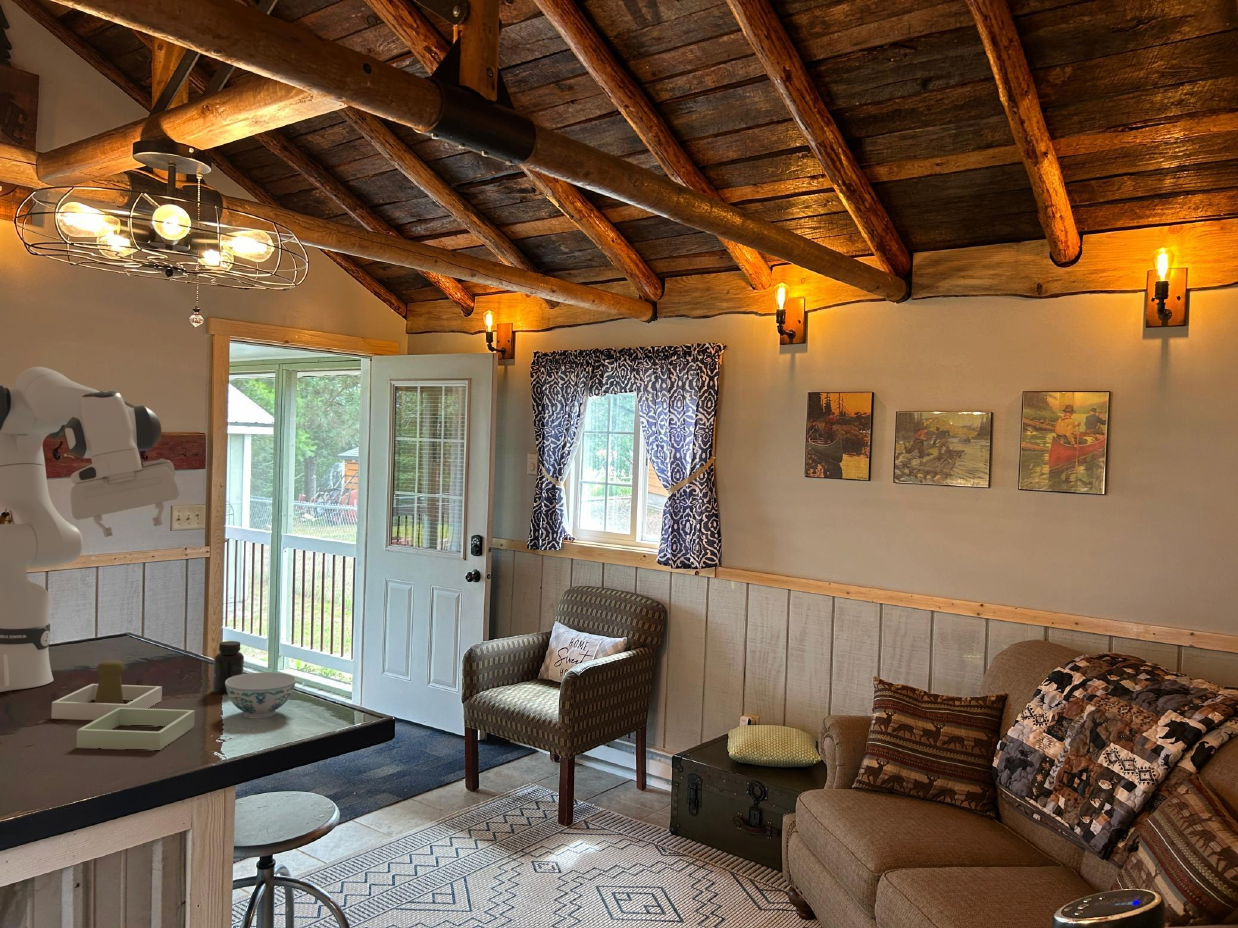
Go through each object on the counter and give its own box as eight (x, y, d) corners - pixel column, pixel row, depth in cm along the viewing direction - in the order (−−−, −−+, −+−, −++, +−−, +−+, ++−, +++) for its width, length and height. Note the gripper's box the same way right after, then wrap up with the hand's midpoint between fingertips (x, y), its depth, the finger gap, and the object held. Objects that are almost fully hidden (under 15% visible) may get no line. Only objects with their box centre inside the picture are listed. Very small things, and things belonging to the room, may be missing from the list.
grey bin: (51, 718, 194) (52, 702, 194) (91, 698, 210) (92, 683, 210) (127, 721, 195) (128, 704, 195) (161, 701, 211) (162, 686, 211)
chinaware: (272, 701, 216) (274, 669, 216) (307, 714, 206) (309, 681, 206) (210, 712, 204) (212, 678, 204) (244, 727, 195) (246, 692, 195)
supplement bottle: (205, 692, 221) (208, 643, 221) (227, 686, 227) (229, 638, 227) (227, 696, 218) (229, 646, 218) (248, 690, 225) (250, 641, 224)
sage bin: (76, 747, 177) (77, 729, 177) (117, 723, 193) (118, 707, 193) (159, 750, 178) (160, 732, 178) (194, 726, 194) (194, 710, 194)
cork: (110, 714, 199) (112, 664, 199) (86, 711, 200) (88, 662, 200) (130, 707, 205) (132, 659, 205) (107, 704, 206) (109, 656, 206)
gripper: (169, 457, 198) (184, 519, 199) (62, 477, 187) (78, 542, 188) (173, 455, 193) (188, 518, 194) (63, 476, 182) (80, 542, 182)
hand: (133, 530), depth 191 cm, fingers open, 8 cm apart
